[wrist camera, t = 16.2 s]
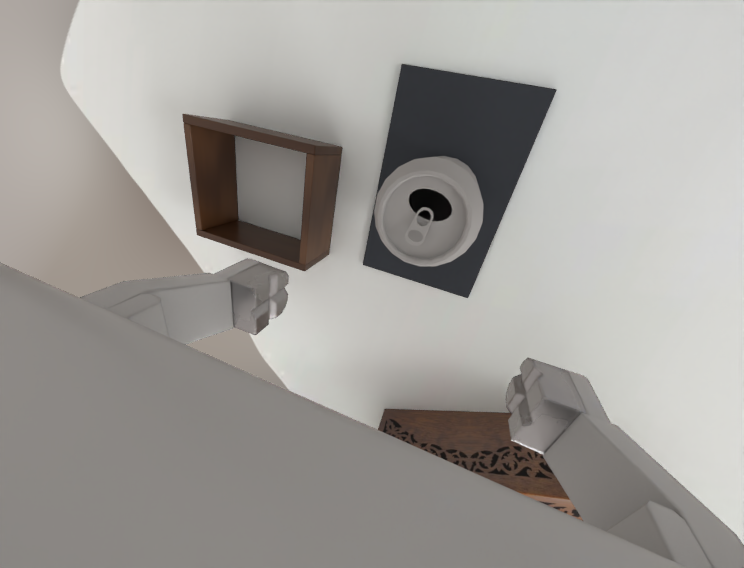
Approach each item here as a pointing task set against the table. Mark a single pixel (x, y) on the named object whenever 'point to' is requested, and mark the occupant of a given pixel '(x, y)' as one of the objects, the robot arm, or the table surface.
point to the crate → (219, 191)
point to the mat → (460, 154)
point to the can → (429, 210)
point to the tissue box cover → (480, 450)
